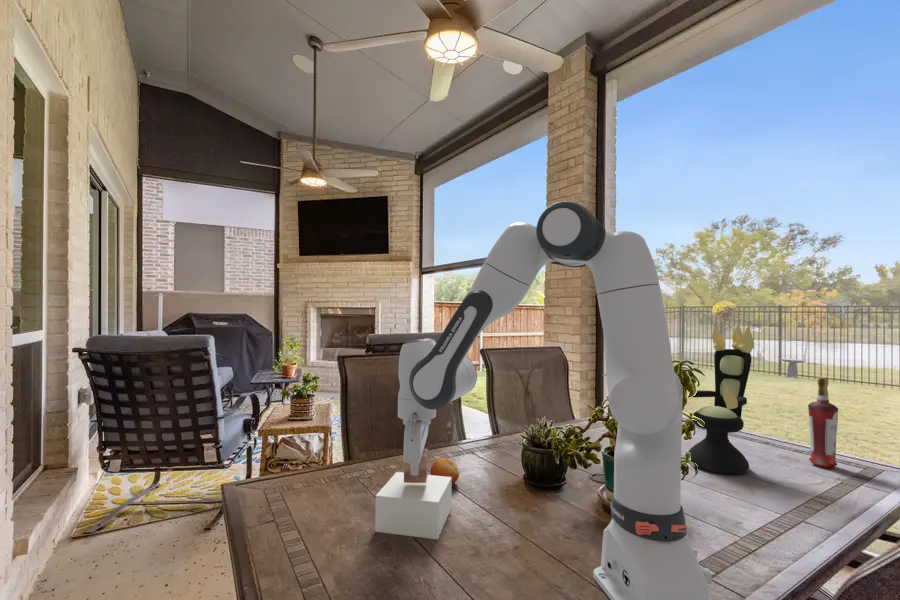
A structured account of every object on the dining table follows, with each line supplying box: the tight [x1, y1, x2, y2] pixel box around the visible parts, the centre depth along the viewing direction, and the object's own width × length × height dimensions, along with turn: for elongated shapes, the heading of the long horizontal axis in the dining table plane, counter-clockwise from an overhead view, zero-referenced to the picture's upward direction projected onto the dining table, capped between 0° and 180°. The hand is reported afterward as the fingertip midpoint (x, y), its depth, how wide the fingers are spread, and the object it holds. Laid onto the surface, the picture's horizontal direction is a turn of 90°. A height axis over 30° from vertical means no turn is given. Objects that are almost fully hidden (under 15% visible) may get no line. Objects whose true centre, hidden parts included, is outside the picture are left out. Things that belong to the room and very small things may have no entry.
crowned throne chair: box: [687, 323, 755, 475], centre depth 139 cm, size 19×22×45 cm
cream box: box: [374, 471, 453, 540], centre depth 100 cm, size 14×14×8 cm
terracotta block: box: [403, 448, 429, 483], centre depth 100 cm, size 5×5×6 cm
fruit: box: [429, 457, 460, 486], centre depth 120 cm, size 8×8×8 cm
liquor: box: [807, 376, 839, 469], centre depth 139 cm, size 7×7×28 cm
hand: (416, 469), depth 100 cm, fingers closed on terracotta block, 5 cm apart
